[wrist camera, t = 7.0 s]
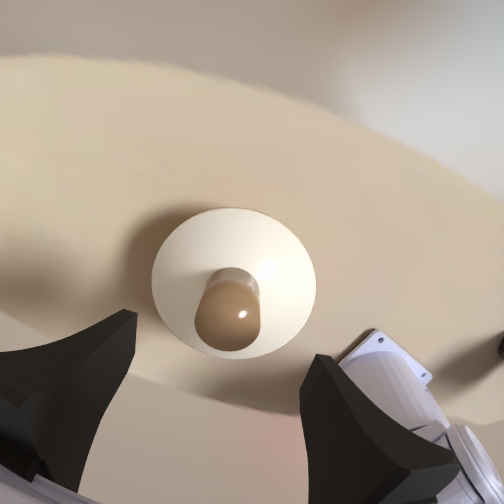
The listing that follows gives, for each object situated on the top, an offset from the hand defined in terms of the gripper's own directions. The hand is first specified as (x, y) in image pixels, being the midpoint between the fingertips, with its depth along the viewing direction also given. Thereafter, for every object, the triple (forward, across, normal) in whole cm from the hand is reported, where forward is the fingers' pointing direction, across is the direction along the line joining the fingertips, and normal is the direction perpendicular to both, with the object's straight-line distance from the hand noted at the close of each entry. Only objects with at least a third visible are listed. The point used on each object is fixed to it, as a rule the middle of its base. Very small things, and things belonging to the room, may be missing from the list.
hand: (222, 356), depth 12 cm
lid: (+6, 0, 0) cm, 6 cm away
